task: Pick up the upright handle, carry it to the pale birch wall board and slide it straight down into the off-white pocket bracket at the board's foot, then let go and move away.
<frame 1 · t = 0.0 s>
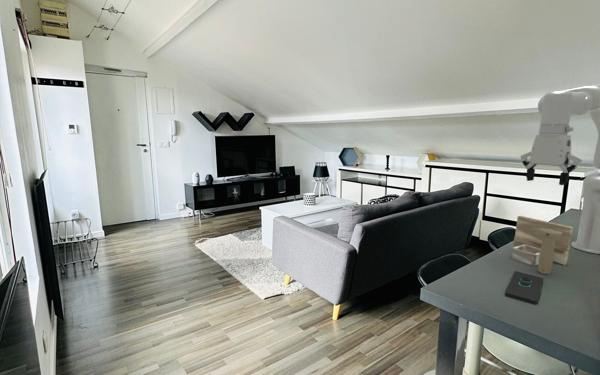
hand: (545, 182, 111), 31 cm above the table, tool pointing down, fingers open, 9 cm apart
smart home device: (524, 290, 103), on the table
handle: (543, 273, 114), on the table
cleat rack: (528, 259, 126), on the table
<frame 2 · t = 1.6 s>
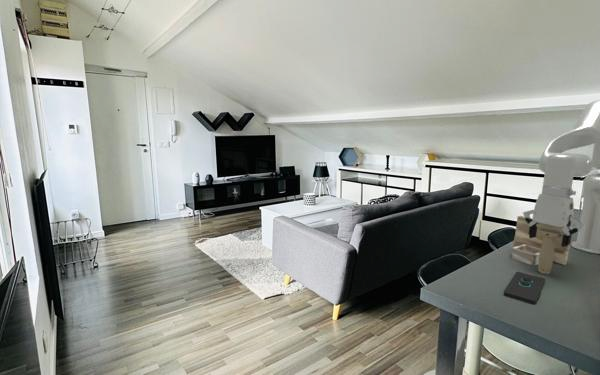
hand: (547, 241, 112), 11 cm above the table, tool pointing down, fingers open, 9 cm apart
nothing on the table moved.
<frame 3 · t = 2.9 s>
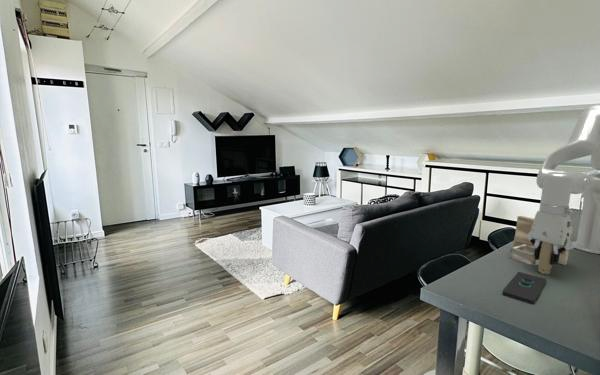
hand: (545, 260, 114), 4 cm above the table, tool pointing down, fingers closed on handle, 4 cm apart
handle: (543, 273, 114), on the table, touching gripper
everything else where it was.
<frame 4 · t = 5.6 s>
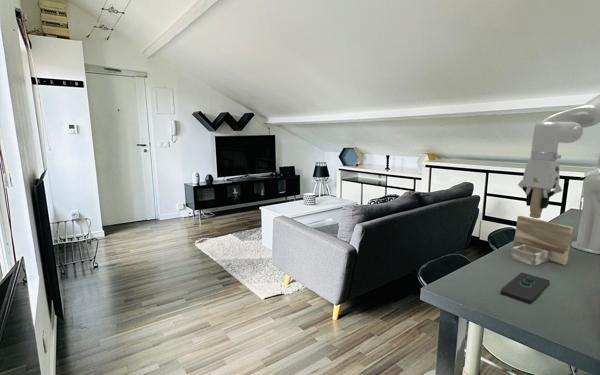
hand: (536, 206, 122), 21 cm above the table, tool pointing down, fingers closed on handle, 4 cm apart
handle: (534, 218, 123), point 16 cm above the table, touching gripper
everything else where it was.
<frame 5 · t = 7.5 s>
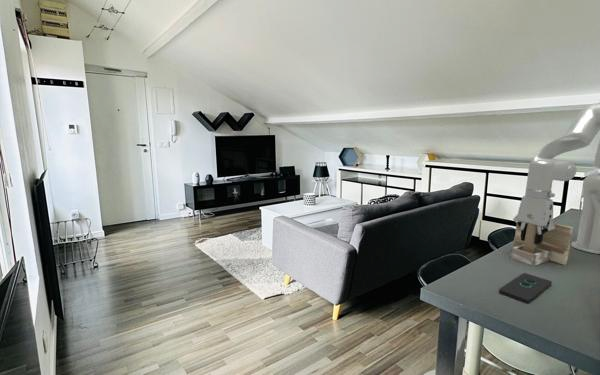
hand: (530, 241, 125), 7 cm above the table, tool pointing down, fingers closed on handle, 4 cm apart
handle: (529, 252, 125), point 3 cm above the table, touching gripper
when the fingers open (6 cm above the table, at t = 8.1 s): handle drops 1 cm, resting in cleat rack.
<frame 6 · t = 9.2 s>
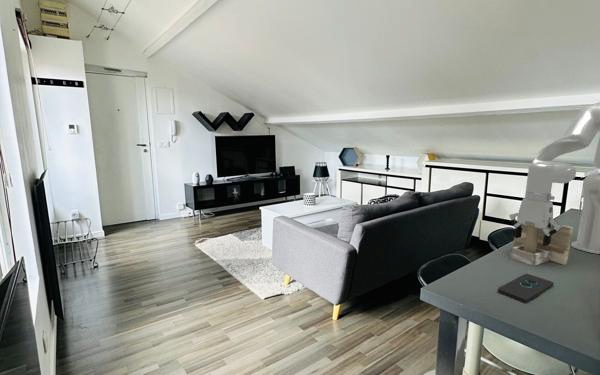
hand: (531, 241, 125), 7 cm above the table, tool pointing down, fingers open, 9 cm apart
handle: (528, 260, 126), resting in cleat rack
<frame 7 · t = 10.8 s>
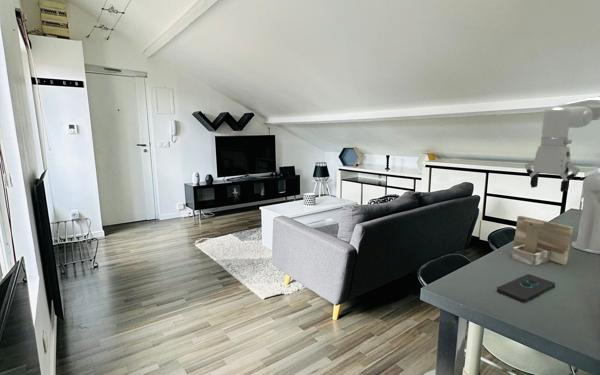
hand: (548, 189, 123), 27 cm above the table, tool pointing down, fingers open, 9 cm apart
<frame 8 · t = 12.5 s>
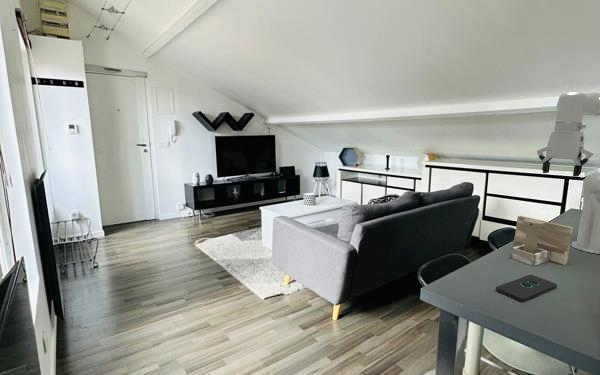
hand: (560, 174, 123), 32 cm above the table, tool pointing down, fingers open, 9 cm apart
at the end: handle 0.1 cm off-centre on the cleat rack, point 0.0 cm above the cleat rack's base; handle tilted 0°; the gripper is holding nothing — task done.
